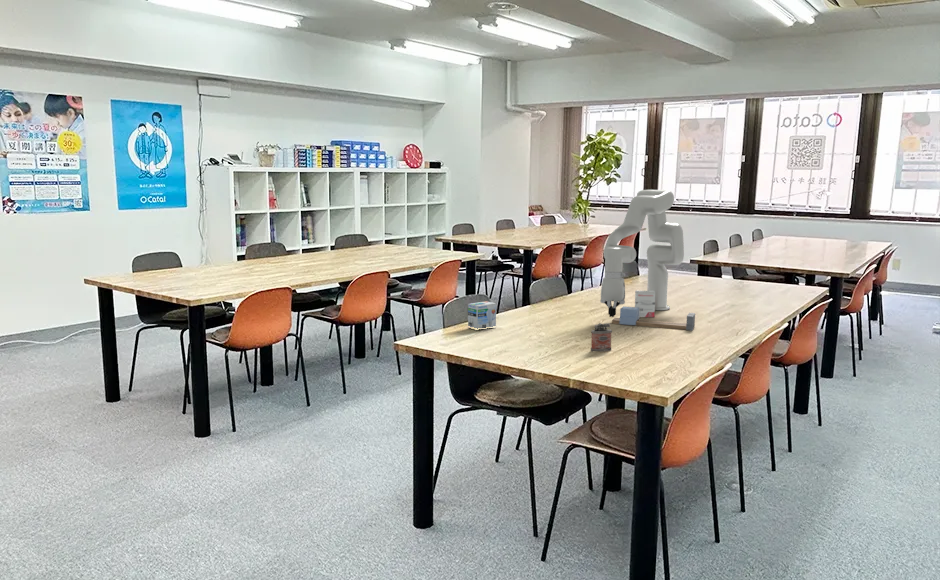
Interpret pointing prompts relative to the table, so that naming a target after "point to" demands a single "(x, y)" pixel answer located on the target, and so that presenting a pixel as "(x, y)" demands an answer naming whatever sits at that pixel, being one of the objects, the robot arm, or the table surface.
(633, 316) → the block
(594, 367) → the table surface
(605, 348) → the lighter
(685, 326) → the rail
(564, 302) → the table surface
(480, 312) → the light bulb box
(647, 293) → the ink box
